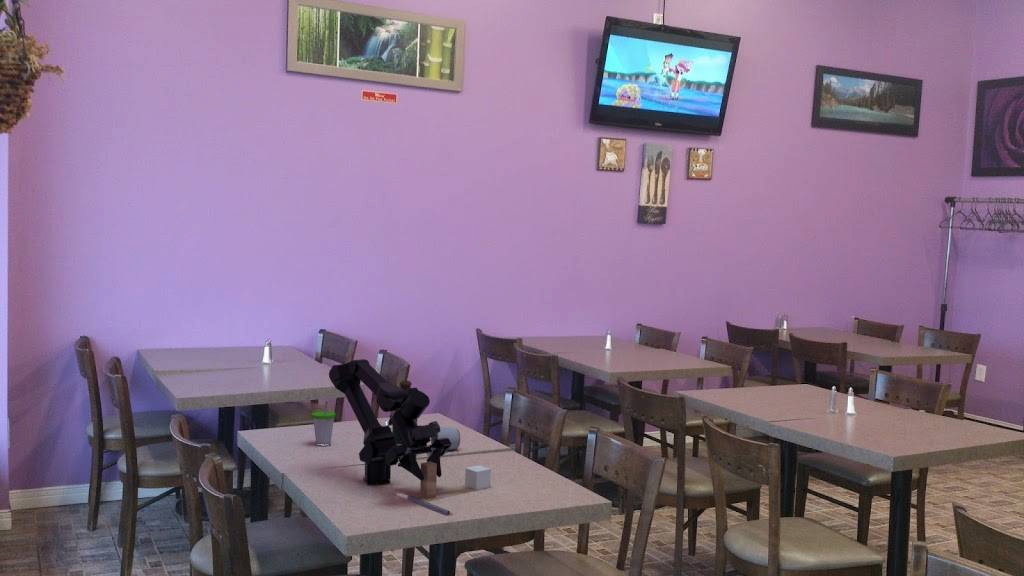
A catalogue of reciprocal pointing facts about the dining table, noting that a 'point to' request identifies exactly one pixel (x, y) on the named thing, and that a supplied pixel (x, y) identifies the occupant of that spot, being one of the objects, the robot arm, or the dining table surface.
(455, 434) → the ceramic mug
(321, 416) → the cup
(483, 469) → the light blue-gray cube
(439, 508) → the lane rails
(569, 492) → the dining table surface
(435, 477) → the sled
